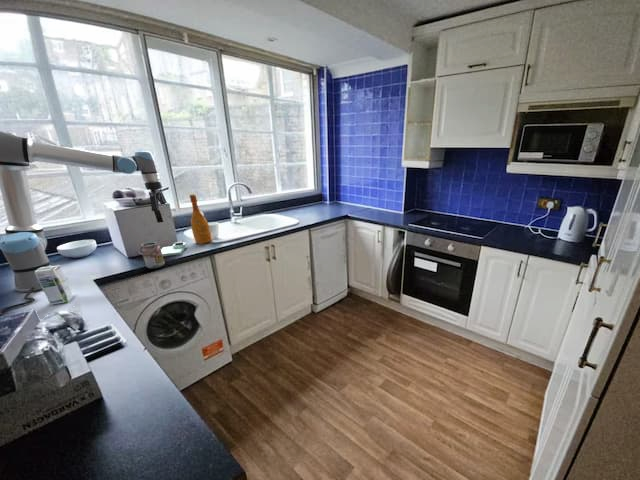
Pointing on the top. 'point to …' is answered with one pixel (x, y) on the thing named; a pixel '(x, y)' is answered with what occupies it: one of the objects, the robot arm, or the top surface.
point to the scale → (173, 250)
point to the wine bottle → (199, 224)
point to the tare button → (178, 243)
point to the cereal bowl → (77, 248)
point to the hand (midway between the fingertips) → (164, 219)
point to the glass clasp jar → (152, 255)
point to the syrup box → (54, 284)
